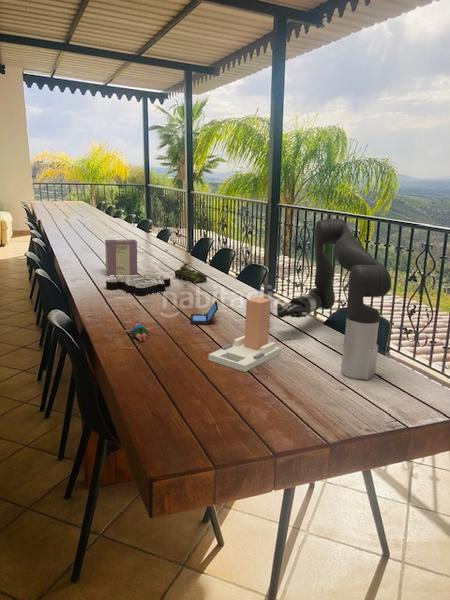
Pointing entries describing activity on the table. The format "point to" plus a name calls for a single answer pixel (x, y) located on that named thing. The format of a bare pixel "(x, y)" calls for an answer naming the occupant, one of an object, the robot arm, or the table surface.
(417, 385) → the table surface
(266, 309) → the block
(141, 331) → the toy character
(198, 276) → the toy vehicle
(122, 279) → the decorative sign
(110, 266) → the box
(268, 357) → the white stand base
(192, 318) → the object
